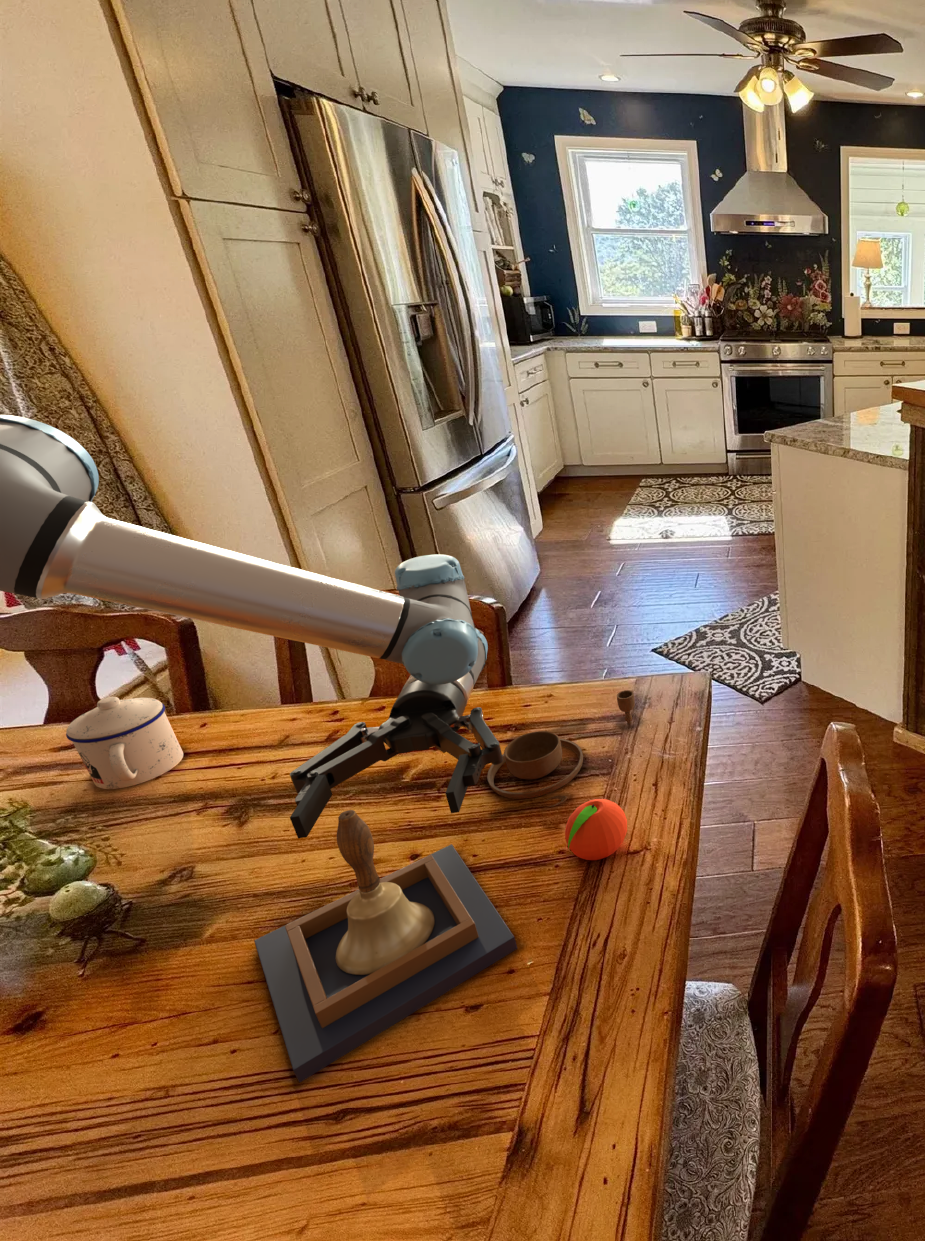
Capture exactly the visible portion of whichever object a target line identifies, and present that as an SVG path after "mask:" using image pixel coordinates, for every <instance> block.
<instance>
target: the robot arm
mask: <svg viewBox="0 0 925 1241" xmlns="http://www.w3.org/2000/svg"><path fill="white" fill-rule="evenodd" d="M99 483H100V477H99V471H98V467H97V465H96V463H95V461H94V459H93V457H92V456H91V455H90V453H89V452H88V450H86V449H85V448H84V447H83V445H81V444H80V443H79V442H78V441H77V440H76V439H74V438H73V437H72V436H70V435H69V434H67V433H66V432H64V431H62V430H60V429H58V428H56V427H54V426H52V425H49V424H47V423H44V422H41V421H38V420H35V419H32V418H28V417H22V416H17V415H9V414H0V592H5V593H9V594H16V595H20V596H25V597H29V598H34V599H40V600H46V599H50V598H53V597H56V596H58V595H62V594H72V595H77V596H82V597H86V598H91V599H97V600H101V601H106V602H110V603H115V604H120V605H124V606H129V607H134V608H139V609H144V610H148V611H153V612H158V613H163V614H167V615H171V616H176V617H181V618H186V619H191V620H196V621H200V622H205V623H211V624H214V625H219V626H222V627H229V628H233V629H238V630H241V631H242V630H243V631H247V632H248V631H249V632H252V633H256V634H257V633H258V634H262V635H265V636H270V637H275V638H279V639H284V640H290V641H294V642H299V643H304V644H308V645H314V646H318V647H322V648H326V649H327V648H328V649H331V650H337V651H341V652H346V653H351V654H356V655H361V656H365V657H369V658H375V659H378V660H379V659H380V660H384V661H388V662H392V663H397V664H401V665H403V666H404V668H405V670H406V671H407V673H408V674H409V676H408V679H407V680H406V682H405V683H404V685H403V687H402V688H401V691H400V692H399V695H398V696H397V698H396V700H395V701H394V703H393V705H392V706H391V709H390V712H389V715H388V719H387V720H386V721H384V722H383V723H382V724H380V725H379V726H369V727H367V724H366V722H365V721H359V722H357V723H355V724H354V725H353V726H352V727H351V728H349V730H348V731H347V733H345V734H344V735H343V736H341V737H340V738H338V739H337V740H335V741H334V742H332V743H331V744H330V745H328V746H327V747H325V748H324V749H322V750H321V751H319V752H318V753H317V754H315V755H314V756H313V757H311V758H309V759H307V761H305V762H304V763H302V764H301V765H299V766H298V767H296V768H295V769H293V770H292V771H290V773H289V777H290V779H291V782H292V785H293V787H294V790H295V792H296V794H297V795H296V796H295V797H294V802H295V804H296V807H295V809H294V810H293V812H292V813H291V815H290V816H289V819H290V821H291V824H292V826H293V829H294V832H295V834H296V836H297V837H296V838H297V839H304V838H305V839H306V838H308V836H309V835H310V833H311V831H312V830H313V828H314V826H315V824H316V823H317V821H318V819H320V818H319V817H320V816H321V814H322V813H323V811H324V810H325V808H326V807H327V805H328V803H329V801H330V800H331V798H332V796H333V791H332V789H333V788H335V787H337V786H338V785H340V784H342V783H344V782H345V781H347V780H349V779H350V778H353V777H354V776H356V775H358V774H359V773H361V772H363V771H365V770H366V769H368V768H369V767H371V766H373V765H375V764H377V763H379V762H380V761H382V762H387V761H389V760H390V759H392V758H394V757H395V756H397V755H400V754H406V753H412V752H414V751H420V752H421V751H428V750H430V749H431V748H436V749H438V750H439V751H440V752H441V753H444V754H445V753H447V754H449V755H450V756H452V757H453V758H455V759H457V761H456V764H455V767H454V770H453V772H452V775H451V778H450V781H449V782H448V785H447V788H446V790H445V797H446V800H447V805H448V807H449V811H450V814H455V813H460V811H461V808H462V805H463V802H464V798H465V796H466V794H467V791H468V788H469V787H471V786H476V785H477V784H478V782H479V780H480V777H481V773H482V771H483V770H484V769H485V767H486V765H489V764H491V765H492V764H493V765H497V764H500V763H502V762H503V757H502V755H503V753H502V749H501V744H500V742H499V740H498V739H497V737H496V736H495V734H494V733H493V732H492V730H491V728H490V727H489V726H488V725H487V723H486V721H485V715H484V713H483V712H484V711H483V708H482V707H479V706H478V707H477V706H476V707H473V708H472V709H471V710H470V713H469V714H466V715H464V713H465V709H466V707H467V705H468V703H469V700H470V698H471V695H472V692H473V691H474V688H475V684H476V682H477V680H478V678H479V676H480V674H481V672H482V671H483V669H484V667H485V665H486V661H487V657H488V656H487V655H488V649H489V648H488V647H489V646H488V641H487V639H486V637H485V635H484V634H483V633H482V632H481V631H480V630H479V629H478V628H476V625H475V622H474V619H473V615H472V609H471V603H470V599H469V595H468V590H467V586H466V581H465V579H466V578H465V575H463V574H464V573H463V571H462V567H461V563H460V562H459V560H458V559H457V558H456V557H454V556H452V555H448V554H441V553H440V554H439V553H438V554H437V553H436V554H434V553H433V554H425V555H420V556H416V557H413V558H412V557H411V558H409V559H407V560H405V561H403V562H401V563H399V564H398V565H397V566H396V568H395V569H394V577H395V582H396V591H398V595H397V594H394V593H391V592H386V591H383V590H379V589H375V588H371V587H368V586H364V585H361V584H357V583H353V582H349V581H346V580H341V579H338V578H334V577H331V576H327V575H325V574H324V575H323V574H320V573H316V572H312V571H309V570H304V569H302V568H297V567H293V566H289V565H286V564H281V563H279V562H275V561H271V560H268V559H267V560H266V559H263V558H260V557H257V556H253V555H249V554H244V553H241V552H239V551H238V552H237V551H234V550H230V549H227V548H222V547H218V546H215V545H211V544H207V543H205V542H204V543H203V542H200V541H196V540H193V539H188V538H184V537H183V536H178V535H174V534H170V533H167V532H164V531H163V532H162V531H158V530H155V529H151V528H147V527H145V526H141V525H136V524H133V523H129V522H126V521H122V520H118V519H114V518H110V517H107V516H106V515H105V514H103V513H102V512H101V510H100V509H99V507H98V506H97V504H96V503H95V502H93V500H94V497H96V493H97V491H98V489H99ZM461 728H464V729H465V730H467V731H468V733H469V734H473V737H474V739H475V740H476V742H477V743H473V742H472V741H470V740H469V739H467V738H466V737H464V736H462V735H461V734H460V733H458V731H459V730H460V729H461ZM386 746H387V747H388V748H386Z"/></svg>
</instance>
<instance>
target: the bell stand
mask: <svg viewBox="0 0 925 1241" xmlns="http://www.w3.org/2000/svg"><path fill="white" fill-rule="evenodd" d="M383 882H391V883H395V884H397V885H398V886H399V887H400V888H401V890H402V892H403V894H404V895H405V897H406V898H407V899H408V900H409V901H410V902H417V903H420V904H423V905H425V906H426V907H428V908H429V909H430V910H431V911H432V912H433V914H434V918H435V923H434V927H433V930H432V933H431V935H430V936H429V938H428V939H427V941H426V942H425V943H424V944H423V945H421V946H420V947H418V948H416V949H414V950H413V951H411V952H409V953H407V954H405V955H404V956H402V957H400V958H398V959H397V960H395V961H393V962H391V963H389V964H388V965H386V966H384V967H382V968H381V969H379V970H377V971H375V972H373V973H372V974H365V975H355V974H349V973H346V972H345V971H343V970H342V969H340V968H339V967H338V965H337V963H336V951H337V948H338V945H339V943H340V941H341V939H342V937H343V936H344V935H345V933H346V932H347V931H348V916H347V907H348V904H349V902H350V901H351V900H352V898H353V897H354V896H355V895H356V894H358V893H359V889H356V890H354V891H352V892H351V893H348V894H346V895H344V896H342V897H340V898H338V899H336V900H334V901H332V902H330V903H328V904H326V905H324V906H322V907H320V908H318V909H315V910H313V911H312V912H309V913H307V914H305V915H303V916H301V917H299V918H297V919H295V920H292V921H291V922H289V923H287V924H285V925H282V926H281V927H278V928H277V929H275V930H272V931H270V932H268V933H266V934H264V935H263V936H262V935H261V936H260V937H258V938H256V939H254V945H255V949H256V952H257V955H258V958H259V962H260V964H261V968H262V972H263V975H264V978H265V982H266V985H267V988H268V992H269V996H270V998H271V1002H272V1005H273V1008H274V1011H275V1015H276V1018H277V1021H278V1025H279V1028H280V1032H281V1035H282V1038H283V1042H284V1045H285V1048H286V1052H287V1055H288V1059H289V1061H290V1065H291V1068H292V1072H293V1073H294V1076H295V1077H296V1079H297V1081H298V1083H302V1082H303V1081H305V1080H306V1079H308V1078H310V1077H311V1076H313V1075H315V1074H316V1073H318V1072H320V1071H321V1070H323V1069H324V1068H326V1067H327V1066H329V1065H331V1064H332V1063H334V1062H336V1061H338V1060H339V1059H341V1058H343V1057H344V1056H345V1055H347V1054H349V1053H350V1052H352V1051H354V1050H355V1049H357V1048H358V1047H360V1046H361V1045H363V1044H365V1043H367V1042H369V1041H370V1040H371V1039H373V1038H375V1037H376V1036H378V1035H379V1034H381V1033H383V1032H384V1031H386V1030H388V1029H390V1028H391V1027H393V1026H395V1025H396V1024H398V1023H400V1022H401V1021H403V1020H404V1019H406V1018H407V1017H409V1016H410V1015H412V1014H414V1013H416V1012H418V1011H419V1010H421V1009H422V1008H424V1007H425V1006H427V1005H429V1004H430V1003H432V1002H433V1001H435V1000H437V999H438V998H440V997H441V996H443V995H445V994H447V993H448V992H450V991H451V990H453V989H454V988H456V987H457V986H459V985H461V984H462V983H464V982H466V981H467V980H469V979H471V978H472V977H475V976H476V975H477V974H479V973H480V972H482V971H484V970H485V969H487V968H488V967H490V966H492V965H494V964H495V963H496V962H498V961H500V960H501V959H503V958H505V957H506V956H508V955H510V954H511V953H513V952H515V951H516V950H518V946H517V941H516V938H515V936H514V934H513V932H512V931H511V930H510V928H509V926H508V925H507V924H506V922H505V921H504V919H503V918H502V916H501V915H500V913H499V912H498V910H497V909H496V908H495V905H494V904H493V903H492V901H491V900H490V899H489V896H488V895H487V894H486V892H485V891H484V890H483V888H482V886H481V885H480V883H478V880H476V878H475V875H473V873H472V872H471V871H470V869H469V867H468V866H467V865H466V863H465V861H464V860H463V859H462V857H461V856H460V854H459V852H458V851H457V850H456V848H455V847H454V845H453V844H451V843H450V844H448V845H447V846H445V847H442V848H441V849H439V850H437V851H434V852H433V853H430V854H428V855H427V856H424V857H422V858H420V859H418V860H416V861H414V862H412V863H410V864H408V865H406V866H403V867H402V868H399V869H397V870H396V871H393V872H391V873H389V874H387V875H385V876H383V877H381V878H380V883H383Z"/></svg>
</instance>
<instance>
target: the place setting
mask: <svg viewBox="0 0 925 1241" xmlns="http://www.w3.org/2000/svg"><path fill="white" fill-rule="evenodd" d="M616 702H617V706H618V709H619V711H621V712H622V713H624V714H625V716H624V721H625V722H626V724H627V725H631V724H632V723H633V722H632V720H633V716H632V714H631V713H632V711H633V710H634V708H635V705H636V702H635V694H634V691H633V690H629V689H624V690H622V691H619V692H618V693H617V694H616ZM504 748H505V749H504V751H503V753H502V757H503V762H502V763H500V764H497V765H493V764H492V763H491V765H490V767H489V769H488V772H487V782H488V785H489V787H490V789H491V790H493V792H494V793H496V794H497V795H499V796H501V797H503V798H507V799H515V800H517V799H518V800H523V799H525V800H526V799H533V798H537V797H540V796H544V795H547V794H550V793H553V792H554V791H557V790H559V789H560V788H562V787H564V786H565V785H567V784H568V783H570V782H571V781H572V780H574V778H575V777H576V776H577V775H578V774H579V772H581V771H580V770H581V768H582V766H583V762H584V753H583V750H582V748H581V747H580V746H579V745H578V744H577V743H576V742H574V741H572V740H569V739H566V738H561V737H559V735H558V734H556V733H554V732H551V731H547V730H541V731H540V730H539V731H532V732H528V733H525V734H522V735H519V736H518V737H516V738H514V739H512V740H511V741H510V742H509V743H507V745H506V746H505V747H504ZM562 748H566V749H568V750H571V751H572V752H574V753H575V754H576V756H577V757H578V763H577V765H576V767H575V768H574V769H573V770H572V771H571V772H570V773H569V774H568V775H567V776H565V777H564V778H563V779H560V780H559V781H557V782H555V783H553V784H551V785H548V786H546V787H542V788H539V789H535V790H531V791H530V790H529V791H523V792H521V791H520V792H519V791H518V792H516V791H508V790H504V789H501V788H499V787H497V786H496V785H495V776H496V773H497V772H498V770H499V769H500V768H501V767H502V766H503V765H504V764H506V767H507V770H508V771H509V773H510V774H511V775H512V776H514V777H516V778H518V779H521V780H529V781H531V780H532V781H533V780H538V779H542V778H544V777H546V776H548V775H549V774H551V773H552V772H554V771H555V769H557V768H558V766H559V765H560V763H561V761H562V759H563V749H562ZM552 799H559V800H560V801H559V802H557V803H556V804H553V805H548V806H547V808H553V807H556V806H559V805H562V804H564V803H565V802H566V801H567V800H568V796H567V795H555V796H552V797H549V798H547V799H545V800H544V802H546V801H547V800H548V801H549V800H552ZM540 807H543V808H545V806H543V805H541V806H540Z"/></svg>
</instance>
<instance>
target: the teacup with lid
mask: <svg viewBox="0 0 925 1241" xmlns="http://www.w3.org/2000/svg"><path fill="white" fill-rule="evenodd" d="M165 711H166V706H165V704H164V703H162V702H161V701H160V700H159V699H156V698H152V697H134V698H133V697H132V698H127V699H120V698H119V697H117V696H107V697H103V698H101V699H100V700H98V701H97V703H96V707H95V708H92V709H91V710H89V711H87V712H85V713H82V714H81V715H79V716H78V717H76V718H75V719H73V720H72V721H71V722H70V724H68V726H67V728H66V731H65V736H66V738H67V740H69V741H70V742H72V744H73V746H74V748H75V749H76V752H77V753H78V756H79V757H80V759H81V761H82V763H83V765H84V767H85V768H86V770H87V772H88V774H89V776H90V778H91V780H92V781H93V784H94V785H95V786H96V787H97V788H99V789H104V790H115V789H122V788H123V789H124V788H127V787H131V786H136V785H139V784H143V783H146V782H148V781H150V780H153V779H155V778H157V777H160V776H162V775H163V774H166V773H168V772H169V771H170V770H172V769H173V768H175V767H176V766H177V765H178V764H179V763H180V762H181V761H182V760H183V758H184V751H183V749H182V747H181V745H180V742H179V740H178V739H177V736H176V734H175V732H174V730H173V727H172V725H171V723H170V720H169V719H168V716H167V714H166V712H165Z"/></svg>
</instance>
